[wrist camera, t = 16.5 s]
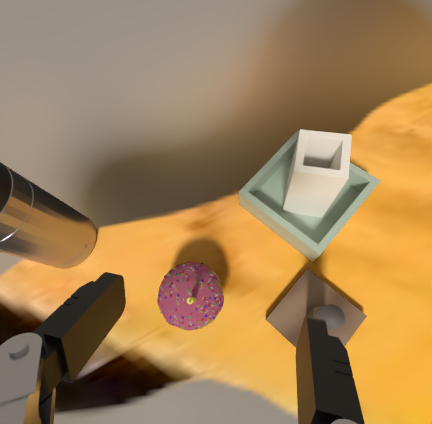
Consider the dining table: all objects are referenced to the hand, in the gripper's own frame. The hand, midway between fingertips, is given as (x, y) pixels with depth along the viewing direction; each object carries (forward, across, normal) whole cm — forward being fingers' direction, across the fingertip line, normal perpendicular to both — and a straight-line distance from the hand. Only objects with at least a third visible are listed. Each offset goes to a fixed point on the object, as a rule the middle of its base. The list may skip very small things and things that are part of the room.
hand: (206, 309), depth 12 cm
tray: (+33, -7, +6) cm, 35 cm away
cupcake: (+21, +6, +19) cm, 29 cm away
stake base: (+21, -10, +18) cm, 30 cm away
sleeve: (+33, -7, +6) cm, 34 cm away
